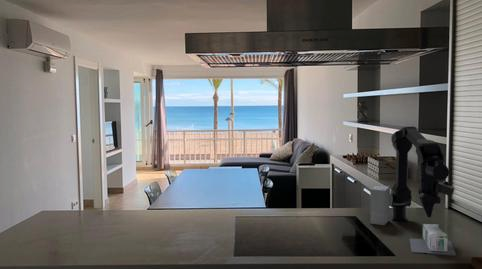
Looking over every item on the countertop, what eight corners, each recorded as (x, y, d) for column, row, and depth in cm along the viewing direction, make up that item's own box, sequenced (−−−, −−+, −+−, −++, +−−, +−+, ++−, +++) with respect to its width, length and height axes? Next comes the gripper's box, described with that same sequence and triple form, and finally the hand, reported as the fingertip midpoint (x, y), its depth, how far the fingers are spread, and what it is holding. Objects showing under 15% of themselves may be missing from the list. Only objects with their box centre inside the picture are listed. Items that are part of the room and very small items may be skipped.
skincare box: (375, 219, 190) (374, 184, 189) (391, 221, 185) (390, 185, 185) (369, 223, 183) (368, 188, 182) (385, 226, 179) (384, 189, 178)
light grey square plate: (409, 239, 160) (409, 238, 160) (450, 241, 155) (450, 240, 155) (411, 252, 146) (411, 251, 146) (456, 255, 141) (456, 254, 141)
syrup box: (438, 238, 158) (448, 252, 144) (422, 238, 159) (430, 251, 145) (438, 224, 157) (448, 235, 143) (421, 223, 159) (430, 235, 145)
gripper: (456, 180, 144) (456, 225, 145) (449, 172, 162) (449, 211, 163) (421, 180, 148) (422, 223, 149) (417, 171, 166) (418, 210, 167)
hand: (429, 217), depth 157 cm, fingers closed
